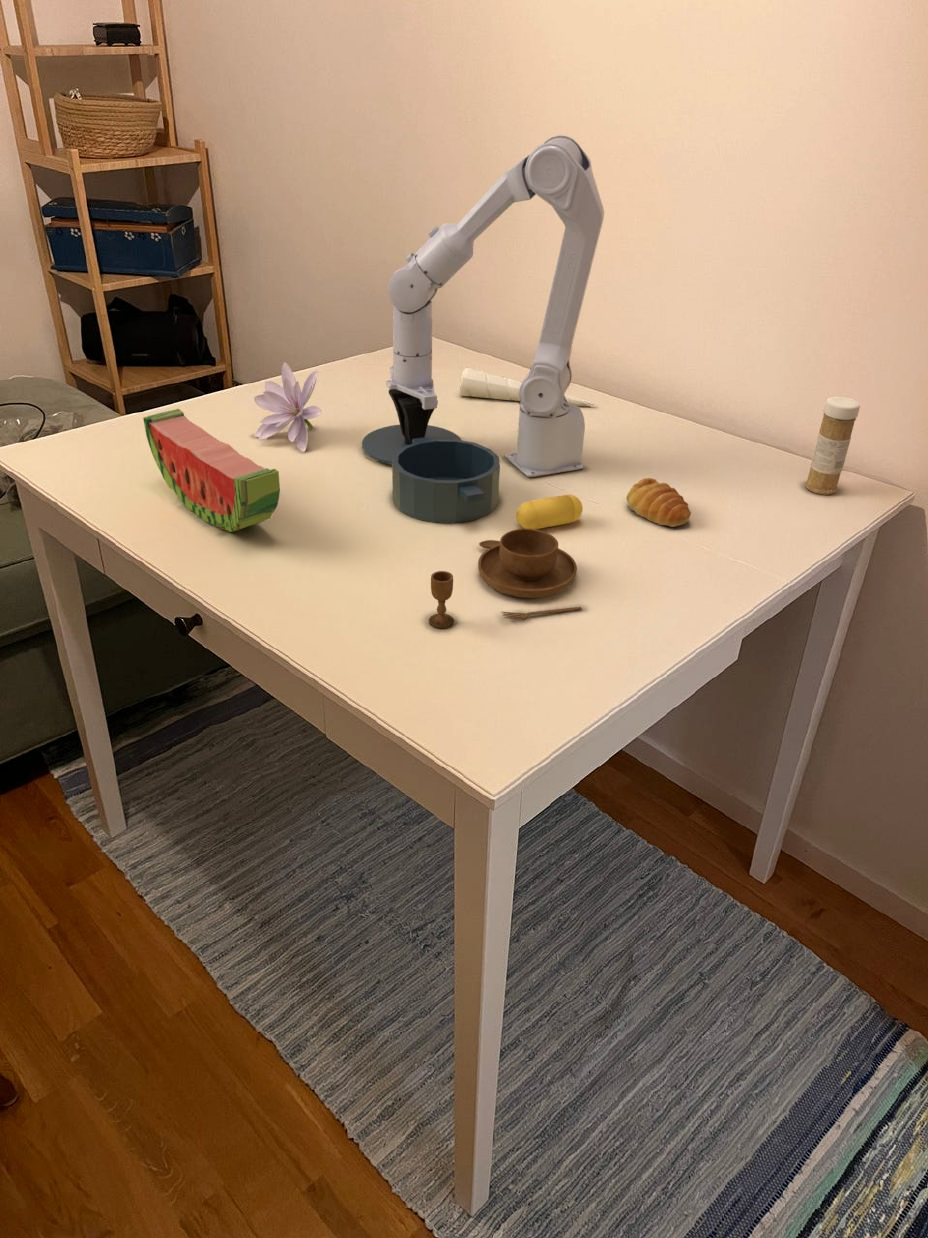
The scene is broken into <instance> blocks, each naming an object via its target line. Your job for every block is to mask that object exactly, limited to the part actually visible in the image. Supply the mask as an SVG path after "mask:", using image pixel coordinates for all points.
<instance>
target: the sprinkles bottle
mask: <svg viewBox="0 0 928 1238" xmlns="http://www.w3.org/2000/svg"><path fill="white" fill-rule="evenodd" d="M860 408H861V404H860V402H859V401H858V400H856V399H854V398H851V397H846V396H839V395H838V396H836V395H835V396H831V397H828V398H827V399H826V400H825V403H824V406H823V409H822V410H823V411H822V412H823V416H822V421H821V423H820V428H819V432H818V435H817V438H816V443H815V446H814V449H813V454H812V456H811V457H812V458H811V461H810V467H809V472H808V476H807V480H806V481H805V487H806V489H807V490H809V491H811V492H812V493H815V494H819V495H833V494H835V493H836V492H837V491H838V486H839V485H838V484H839V481H840V478H841V473H842V472H843V469H844V465H845V461H846V458H847V454H848V450H849V447H850V443H851V440H852V433H853V429H854V425H855V422H856V420H857V418H858V415H859V412H860Z"/></svg>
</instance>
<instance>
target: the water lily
mask: <svg viewBox="0 0 928 1238" xmlns="http://www.w3.org/2000/svg"><path fill="white" fill-rule="evenodd" d="M318 373H319V371H318V370H314V371H313V372H311V373H309V375H308V377H307V378H306V379H305V381H304V383H303V386H302V388H301V387H300V386H301V385H300V382H299V380H297V381H296V377H295V375H294V372H293V370H292V368H291V367H290V365H289V364H288V363H287V362H283V364H282V366H281V382H282V386H281V385H280V384H279V383H278V382H275V381H272V380H266V381H264V391H263V394H258V395H255V396H253V402H254V403H255V405H257V407H259V408H261V409H262V410H265V411H268V412H270V413H273V414H270V415H267V416H265V417H264V418H262V419H261V420H260V421H259V424H261V425H259V427H258V428H257V429H256V431H255V432H254V438H258V440H259V441H262V440H265V439H268V438H271V437H273V436H275V435H277V434H278V433H280V432H281V431H283V430H284V429H286V427H287V426H289V428H288V430H287V431H288V432H287V437H288V441H290V442H291V443H293V442H295V445H296V447H297V448H298V450H300V451H301V452H303V453H305V451H306V450H307V447H308V440H309V435H308V434H309V433H308V429H309V430H313V429H314V426H313V424H312V423H311V422H310V421H309V420H311V419H312V420H313V419H315V418H317V417H319V416H320V415H322V413H323V411H322V409H321V408H320V407H319V406H317V405H310V406H307V407H305V406H306V404H307V403H308V401H309V400H310V398H311V396H312V394H313V392H314V390H315V386H316V383H317V378H318ZM304 407H305V408H304ZM307 427H308V428H307Z"/></svg>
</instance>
